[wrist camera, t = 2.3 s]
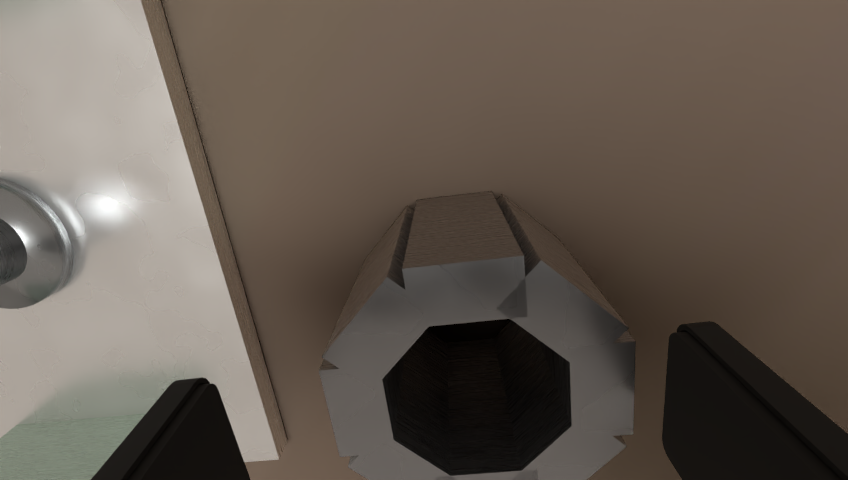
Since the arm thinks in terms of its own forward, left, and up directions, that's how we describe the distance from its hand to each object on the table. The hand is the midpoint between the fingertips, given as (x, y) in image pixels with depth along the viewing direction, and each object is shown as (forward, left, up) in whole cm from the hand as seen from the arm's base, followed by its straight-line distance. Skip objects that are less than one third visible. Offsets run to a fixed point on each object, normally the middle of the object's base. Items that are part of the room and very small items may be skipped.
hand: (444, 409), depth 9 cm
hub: (-1, -1, -7) cm, 7 cm away
